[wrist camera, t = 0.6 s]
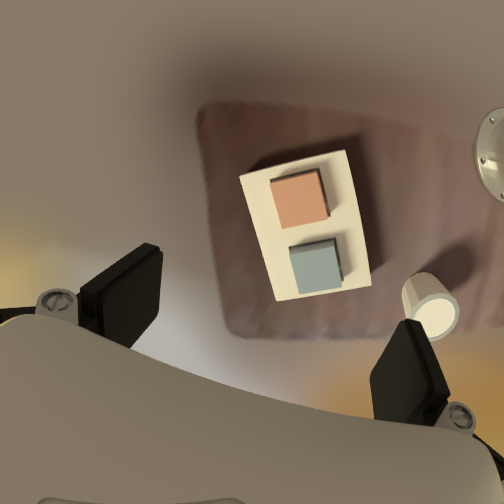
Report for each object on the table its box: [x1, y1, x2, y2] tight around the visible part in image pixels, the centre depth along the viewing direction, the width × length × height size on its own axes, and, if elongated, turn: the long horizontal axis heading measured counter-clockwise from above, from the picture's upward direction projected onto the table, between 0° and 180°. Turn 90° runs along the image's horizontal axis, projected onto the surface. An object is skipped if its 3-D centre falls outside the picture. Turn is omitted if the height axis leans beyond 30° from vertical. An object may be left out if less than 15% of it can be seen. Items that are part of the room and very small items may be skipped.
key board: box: [239, 149, 371, 301], centre depth 35 cm, size 12×16×3 cm
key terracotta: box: [269, 170, 328, 229], centre depth 32 cm, size 5×5×2 cm
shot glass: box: [402, 272, 459, 342], centre depth 33 cm, size 7×7×7 cm
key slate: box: [289, 239, 342, 294], centre depth 34 cm, size 5×5×2 cm
